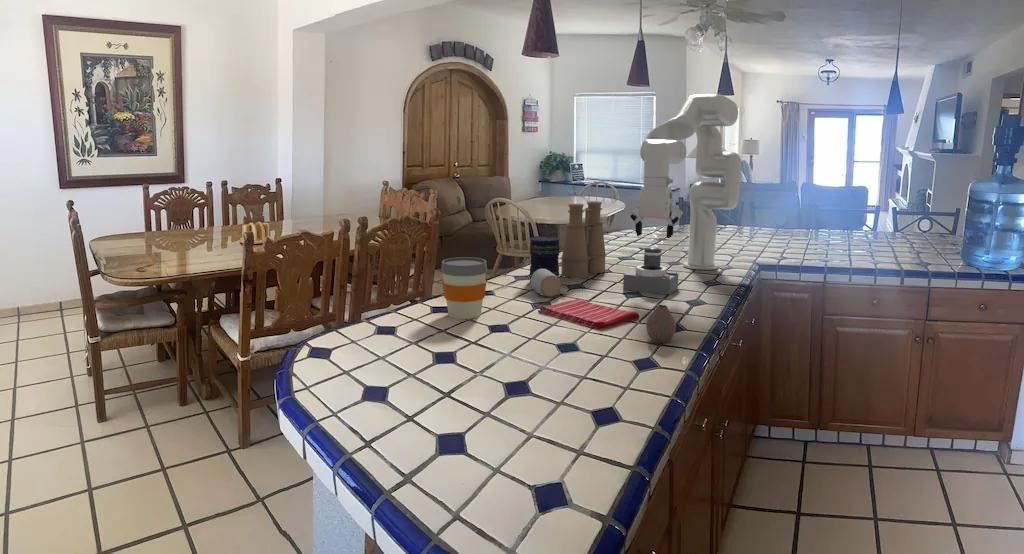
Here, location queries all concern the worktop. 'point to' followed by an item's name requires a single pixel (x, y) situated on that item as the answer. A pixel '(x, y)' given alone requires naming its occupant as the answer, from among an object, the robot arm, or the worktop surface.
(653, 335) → the vase
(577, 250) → the binoculars
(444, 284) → the reusable coffee cup
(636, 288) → the camera body
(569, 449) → the worktop surface
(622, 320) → the dish towel
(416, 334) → the worktop surface
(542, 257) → the storage jar
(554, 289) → the ceramic mug
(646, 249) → the lens
